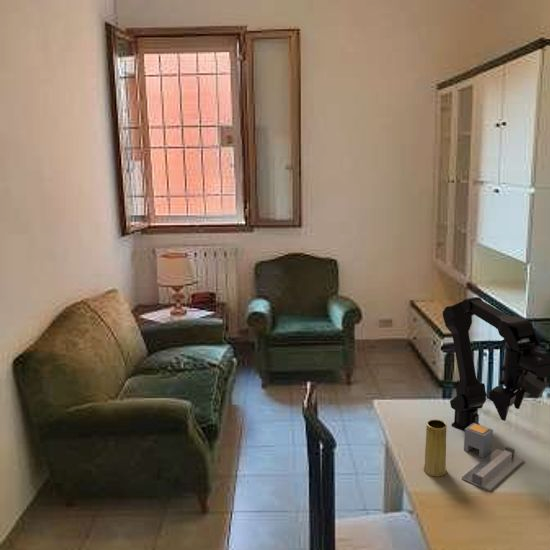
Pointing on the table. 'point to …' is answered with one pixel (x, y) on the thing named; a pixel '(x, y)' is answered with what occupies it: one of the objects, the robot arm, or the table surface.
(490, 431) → the grey slider block
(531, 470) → the table surface
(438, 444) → the vase
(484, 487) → the rail
